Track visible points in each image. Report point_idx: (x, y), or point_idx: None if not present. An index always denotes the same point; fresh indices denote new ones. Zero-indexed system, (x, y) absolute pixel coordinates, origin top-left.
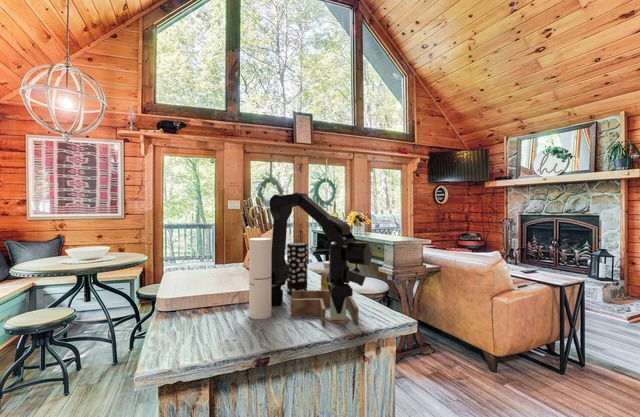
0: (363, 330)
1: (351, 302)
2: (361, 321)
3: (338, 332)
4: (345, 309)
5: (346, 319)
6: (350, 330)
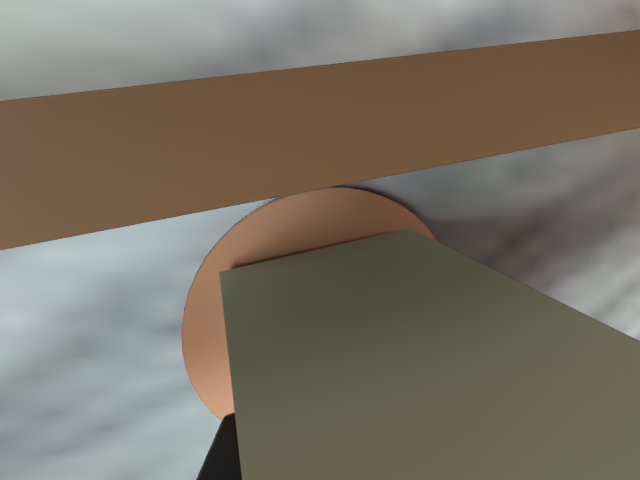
0: (632, 23)
1: (273, 191)
2: (389, 5)
3: (623, 271)
4: (509, 291)
5: (372, 223)
6: (608, 168)
